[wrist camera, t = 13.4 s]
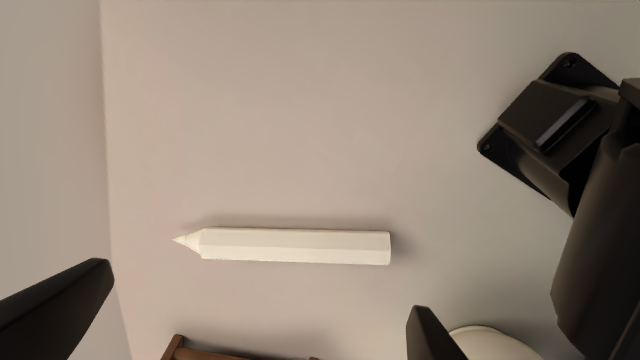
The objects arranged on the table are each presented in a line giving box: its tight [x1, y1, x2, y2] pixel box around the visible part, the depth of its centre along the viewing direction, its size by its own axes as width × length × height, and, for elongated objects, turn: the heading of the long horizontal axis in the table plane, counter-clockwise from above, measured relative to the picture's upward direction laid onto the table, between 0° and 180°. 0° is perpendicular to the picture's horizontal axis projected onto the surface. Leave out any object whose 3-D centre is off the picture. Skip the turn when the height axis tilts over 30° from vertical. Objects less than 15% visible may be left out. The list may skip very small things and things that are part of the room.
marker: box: [171, 227, 391, 265], centre depth 22 cm, size 3×2×16 cm
